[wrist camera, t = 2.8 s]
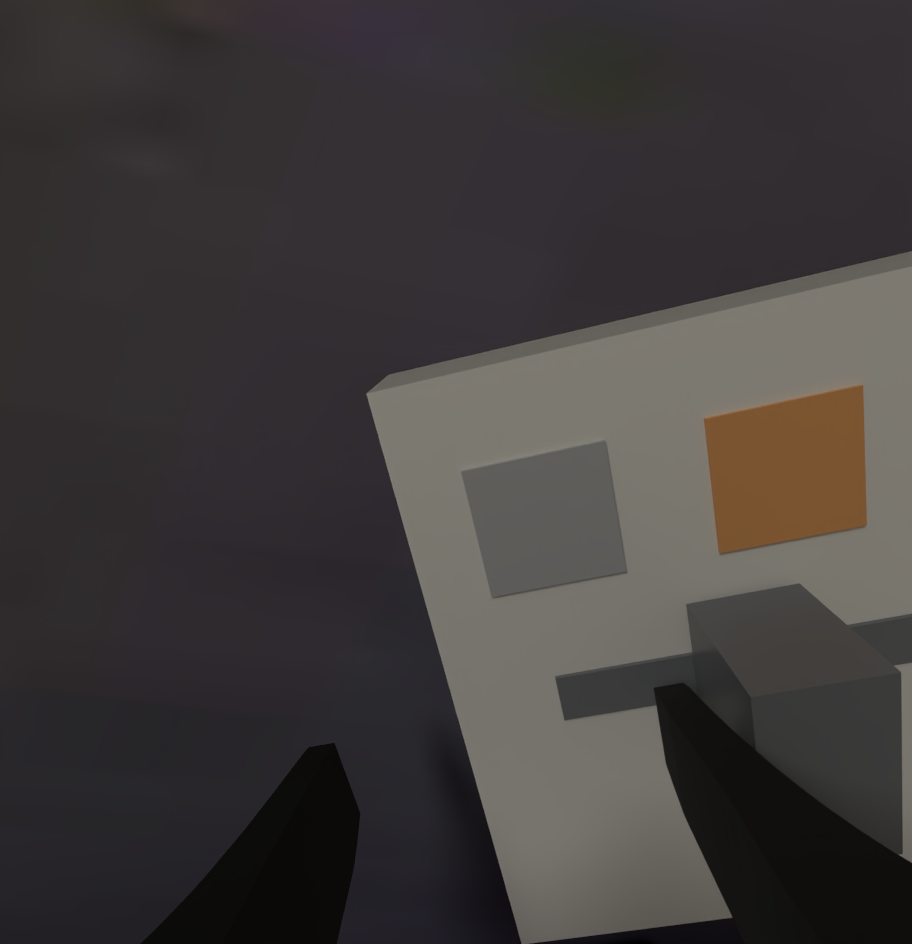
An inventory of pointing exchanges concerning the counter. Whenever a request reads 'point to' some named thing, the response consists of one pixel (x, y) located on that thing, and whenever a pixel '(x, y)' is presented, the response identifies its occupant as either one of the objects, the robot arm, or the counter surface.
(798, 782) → the handle
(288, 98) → the counter surface
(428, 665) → the counter surface
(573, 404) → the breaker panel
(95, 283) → the counter surface
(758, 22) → the counter surface
